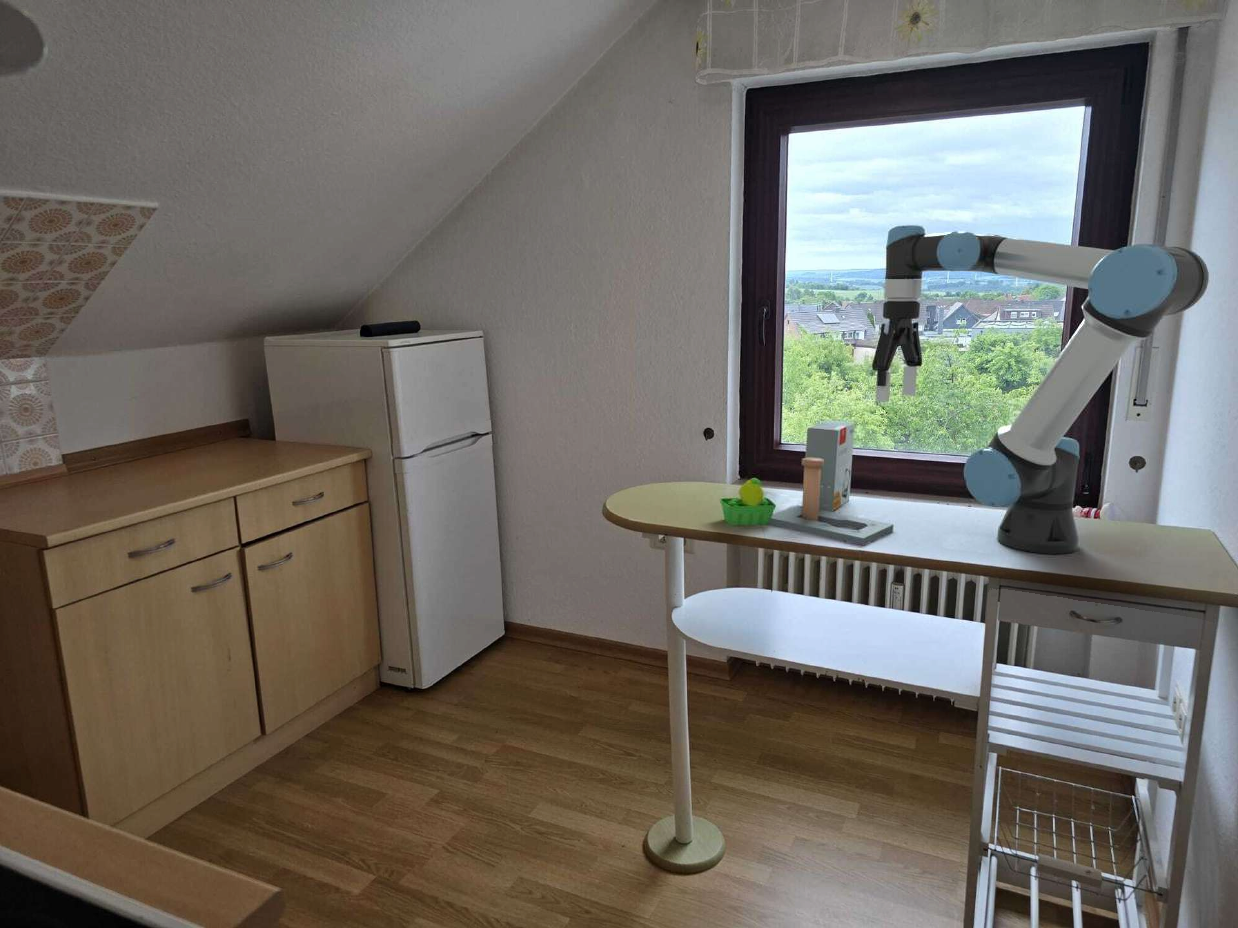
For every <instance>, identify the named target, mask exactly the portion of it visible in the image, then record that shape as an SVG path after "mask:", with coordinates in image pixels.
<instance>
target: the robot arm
mask: <svg viewBox="0 0 1238 928" xmlns="http://www.w3.org/2000/svg"><path fill="white" fill-rule="evenodd" d="M885 250H886V252H885V256H886V257H885V278H884V284H883V286H882V288H883V293H884V295H883V297H884V299H886V301H884V302H883V303H882V304H883V306H882V307H883V308H882V318H884V319H888V320H889V321H888V323H881V327H880V334H879V338H878V342H877V346H876V350H875V352H874V356H873V361H872V364H871V369H872V371H876V382H875V383H876V385H875V386H876V387H875V402H884V403H888V402H890V390H891V389H890V388H891V373H892V370H890V367H891V364H892V362H893V359H894V358H895V355H896V352H897V350H898V348H899V347H900V349H901V352H902V355H903V358H904V362H905V364H906V365H904V367H903V376H902V377H903V379H902V394H901V395H902V396H911V397H915V396H916V391H917V390H916V389H917V373H918V372H917V371H918V367H922V366H923V357H922V350H921V349H922V347H921V343H920V342H921V341H920V335H919V334H920V333H919V326H920V325H919V322H918V321H912V320H917V319H918V318H919V317H920V314H921V313H920V311H921V302H920V301H918V299H921V297H922V282H923V279H922V278H923V277H922V276H923V272H980V273H982V272H983V273H988V274H994V275H1002V276H1008V277H1013V278H1020V279H1024V280H1025V279H1027V280H1031V281H1037V282H1043V283H1048V284H1055V285H1060V286H1061V285H1062V286H1068V287H1072V288H1080V289H1086V290H1088V294H1087V295H1088V296H1087V298H1086V299H1085V301H1084V302H1083V304H1082V305H1081V309H1082V314H1083V320H1082V322H1081V323H1080V324H1079V326H1078V328H1077V329H1076V330H1075V332H1073V335H1072V336H1071V338H1070V339H1069V341H1068V342H1067V344H1066V345H1065V346H1064V348H1063V350H1062V351H1061V352H1060V353H1059V356H1058V357H1057V358H1056V359H1055V361H1054V362H1053V364H1052V366H1051V367H1050V369H1049V370H1048V371H1047V372H1046V374H1045V375H1044V377H1043V378H1042V380H1041V381H1040V383H1039V384H1038V386H1037V388H1036V389H1035V390H1034V392H1033V394H1032V395H1031V396H1030V398H1029V399H1028V400H1027V402H1026V403H1025V404H1024V407H1023V408H1022V410H1021V411H1020V412H1019V414H1018V415H1017V417H1016V418H1015V420H1014V421H1013V423H1011V425H1003V426H1001V427H1000V428H999V429H998V430H997V431H996V433H995V434H994V435H993V437H992V439H991V440H990V442H989V443H988V444H987V446H986V447H982V448H979V449H977V450H976V451H974V452H972V453H971V454H970V455H969V456H968V458H967V460H965V464H964V468H963V477H964V480H965V482H966V483H965V485H966V488H967V489H968V491H969V493H970V494H971V495H972V496H973V498H974V499H975V500H976V501H978V502H979V503H980V504H983V505H985V506H987V507H991V508H992V507H993V508H999V507H1002V508H1003V507H1004V508H1007V507H1008V508H1007V509H1006V511H1005V514H1004V516H1003V518H1002V519H1001V522H1000V524H999V526H998V529H997V541H998V542H999V543H1000V544H1002V545H1004V546H1007V547H1009V548H1012V549H1015V550H1018V551H1019V550H1020V551H1024V552H1030V553H1036V554H1049V555H1054V554H1055V555H1058V554H1059V555H1061V554H1062V555H1064V554H1070V553H1073V552H1076V551H1077V550H1078V547H1079V541H1080V540H1079V539H1080V538H1079V534H1078V530H1077V526H1076V521H1075V518H1074V513H1073V507H1074V499H1075V491H1076V482H1077V477H1078V476H1077V475H1078V467H1079V460H1080V457H1081V456H1080V443H1079V442H1078V440H1076V439H1074V438H1070V437H1064V436H1065V435H1066V433H1067V432H1068V431H1069V429H1070V428H1071V427H1072V425H1073V424H1074V422H1075V421H1076V419H1078V417H1079V416H1080V414H1081V412H1082V411H1083V410H1084V409H1085V408H1086V406H1087V404H1088V403H1089V402H1090V401H1091V399H1092V398H1093V397H1094V395H1095V394H1096V392H1098V390H1099V388H1100V387H1101V385H1102V384H1103V383H1104V382H1105V380H1106V379H1107V378H1108V376H1109V375H1110V373H1111V372H1112V371H1113V369H1114V368H1115V366H1116V365H1117V364H1118V362H1119V361H1120V359H1122V357H1123V355H1124V354H1125V353H1126V352H1127V351H1128V349H1129V348H1130V346H1131V344H1133V343H1134V342H1135V343H1136V342H1138V341H1143V340H1146V339H1148V338H1149V337H1150V335H1151V334H1152V333H1153V331H1154V330H1155V329H1156V327H1157V326H1158V324H1159V323H1160V322H1161V320H1162V319H1163V318H1164V316H1173V315H1177V314H1179V313H1183V312H1185V311H1187V310H1189V309H1191V308H1192V307H1194V306H1195V305H1196V304H1197V303H1199V302H1198V301H1200V300H1201V299H1202V297H1203V296H1204V294H1205V293H1206V290H1207V289H1208V286H1209V277H1210V276H1209V275H1210V274H1209V270H1208V267H1207V264H1206V262H1205V261H1204V260H1203V259H1204V258H1202V257H1201V255H1199V254H1198V253H1196V252H1194V251H1193V250H1191V249H1189V248H1185V247H1181V246H1167V245H1166V246H1163V245H1155V244H1150V243H1142V244H1141V243H1140V244H1139V243H1138V244H1133V245H1128V246H1124V247H1120V248H1118V249H1114V250H1113V249H1105V248H1104V249H1103V248H1096V247H1088V246H1080V245H1071V244H1065V243H1064V244H1063V243H1056V242H1048V241H1041V240H1040V241H1039V240H1032V239H1024V238H1023V239H1022V238H1016V237H1015V238H1014V237H1005V236H1001V235H998V234H975V233H973V232H971V231H951V232H942V233H940V232H939V233H930V234H926V228H925V227H924V226H923V225H918V224H915V225H914V224H912V225H910V224H907V225H895V226H892V227H890V228H889V230H888V234H887V241H886V246H885Z"/></svg>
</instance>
